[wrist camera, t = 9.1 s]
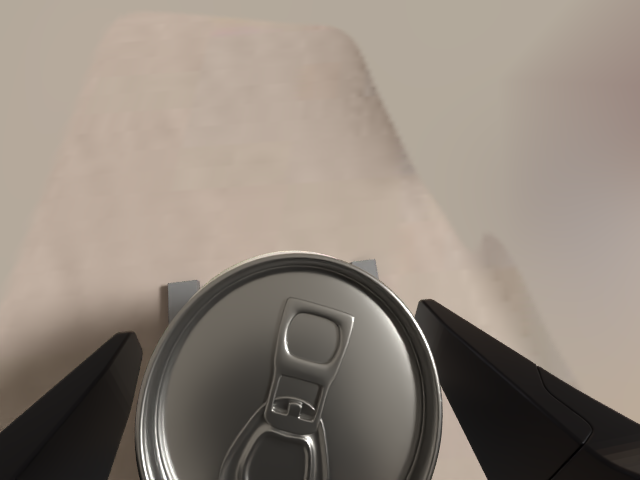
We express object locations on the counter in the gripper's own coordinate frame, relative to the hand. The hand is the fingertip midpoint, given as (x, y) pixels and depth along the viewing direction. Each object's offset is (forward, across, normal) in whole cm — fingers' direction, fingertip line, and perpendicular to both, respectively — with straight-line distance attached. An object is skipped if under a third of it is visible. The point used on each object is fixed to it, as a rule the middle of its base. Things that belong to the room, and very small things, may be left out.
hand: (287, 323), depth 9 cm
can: (+5, 0, +7) cm, 8 cm away
